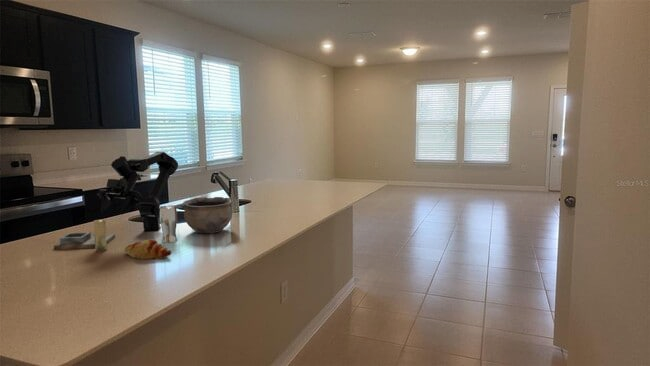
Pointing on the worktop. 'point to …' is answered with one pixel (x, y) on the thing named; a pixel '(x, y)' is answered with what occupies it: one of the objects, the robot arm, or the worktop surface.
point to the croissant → (147, 250)
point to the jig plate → (79, 240)
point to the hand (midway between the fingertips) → (111, 213)
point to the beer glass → (168, 223)
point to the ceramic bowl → (207, 214)
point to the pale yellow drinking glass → (100, 235)
